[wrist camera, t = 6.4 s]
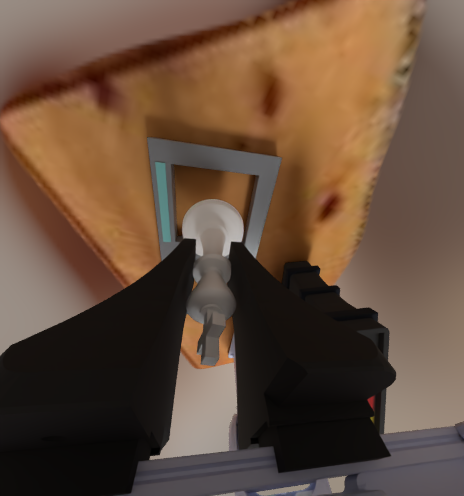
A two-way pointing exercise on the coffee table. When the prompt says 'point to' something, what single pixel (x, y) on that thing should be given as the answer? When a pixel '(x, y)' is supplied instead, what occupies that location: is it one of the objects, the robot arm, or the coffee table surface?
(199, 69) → the coffee table surface
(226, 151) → the port panel
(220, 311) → the chess piece
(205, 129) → the coffee table surface
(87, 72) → the coffee table surface
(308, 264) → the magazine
